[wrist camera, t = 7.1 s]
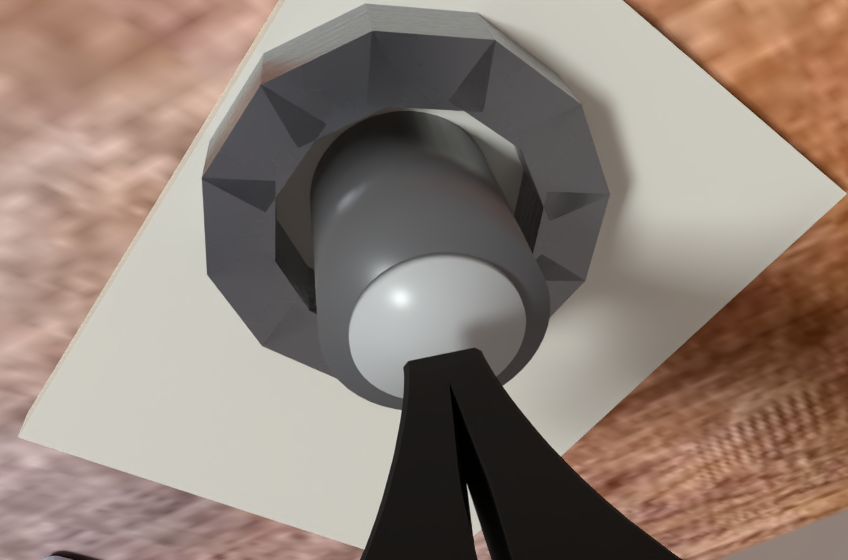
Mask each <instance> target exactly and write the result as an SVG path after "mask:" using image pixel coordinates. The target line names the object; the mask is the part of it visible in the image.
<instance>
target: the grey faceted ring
mask: <svg viewBox="0 0 848 560" xmlns="http://www.w3.org/2000/svg"><path fill="white" fill-rule="evenodd" d="M385 107H402V108H419V109H437V110H454V111H465V112H466V113H468V114H469V115H471V116H472V117H473V118H475V119H476V120H478V121H479V122H481V123H482V124H484V125H485V126H487V127H488V128H490V129H491V130H493V131H494V132H496V133H497V134H499V135H500V136H502V137H503V138H505V139H506V140H507V141H509V142H510V143H512V144H513V145H514V147H515V149H516V152H517V155H518V157H519V160H520V162H521V165H522V167H523V170H524V171H523V176H522V180H521V185H520V190H519V195H518V199H517V204H516V209H515V214H514V217H515V219H516V221H517V223H518V225H519V227H520V229H521V231H522V233H523V235H524V237H525V239H526V241H527V243H528V245H529V247H530V249H531V251H532V253H533V255H534V257H535V259H536V261H537V263H538V265H539V268H540V270H541V272H542V274H543V276H544V278H545V280H546V283H547V286H548V289H549V295H550V317H551V316H552V315H553V314H554V313H555V312H556V311H557V310H558V309H559V308H560V307H561V306H562V305H563V304H564V302H565V301H566V300H567V299H568V298H569V297H570V296H571V295H572V294H573V293H574V292H575V291H576V290H577V289H578V288H579V287H580V286H581V285H582V284H583V283H584V282H585V281H586V277H587V273H588V270H589V266H590V263H591V259H592V256H593V252H594V249H595V245H596V242H597V238H598V235H599V232H600V228H601V225H602V221H603V218H604V214H605V211H606V207H607V204H608V200H609V197H610V192H609V189H608V186H607V183H606V180H605V177H604V174H603V170H602V167H601V164H600V161H599V158H598V155H597V152H596V148H595V145H594V142H593V139H592V136H591V133H590V130H589V126H588V123H587V120H586V117H585V114H584V111H583V108H582V104H581V103H580V102H579V100H578V99H577V98H576V97H575V95H574V94H573V93H572V92H571V90H570V89H569V88H568V87H567V85H566V84H565V83H564V82H563V80H562V79H561V78H560V77H559V75H558V74H557V73H556V72H554V71H553V70H552V69H550V68H549V67H548V66H546V65H545V64H544V63H542V62H541V61H540V60H538V59H537V58H536V57H534V56H533V55H532V54H531V53H529V52H528V51H527V50H525V49H524V48H523V47H521V46H520V45H519V44H517V43H516V42H515V41H513V40H512V39H511V38H509V37H508V36H507V35H505V34H504V33H503V32H501V31H500V30H499V29H498V28H496V27H495V26H494V25H492V24H491V23H490V22H488V21H487V20H486V19H484V18H483V17H482V16H480V15H479V14H478V13H476V12H464V11H451V10H439V9H427V8H415V7H403V6H391V5H378V4H366V3H365V4H363V5H361V6H359V7H357V8H355V9H353V10H351V11H349V12H347V13H345V14H343V15H341V16H338V17H336V18H334V19H332V20H330V21H328V22H326V23H324V24H322V25H320V26H318V27H316V28H314V29H312V30H310V31H308V32H306V33H304V34H302V35H300V36H298V37H296V38H294V39H292V40H290V41H288V42H285V43H283V44H281V45H279V46H277V47H275V48H273V49H271V50H269V51H267V52H265V53H263V55H262V57H261V59H260V60H259V62H258V63H257V65H256V67H255V68H254V70H253V72H252V73H251V75H250V76H249V78H248V80H247V81H246V83H245V84H244V86H243V88H242V89H241V91H240V92H239V94H238V96H237V97H236V99H235V101H234V102H233V104H232V105H231V107H230V109H229V110H228V112H227V113H226V115H225V117H224V118H223V120H222V122H221V123H220V125H219V126H218V128H217V130H216V131H215V133H214V134H213V136H212V138H211V139H210V141H209V146H208V151H207V155H206V160H205V165H204V169H203V174H202V193H203V212H204V230H205V248H206V266H207V275H208V277H209V278H210V279H211V281H212V282H213V283H214V284H215V286H216V287H217V288H218V290H219V291H220V292H221V293H222V295H223V296H224V297H225V299H226V300H227V301H228V303H229V304H230V305H231V306H232V308H233V309H234V310H235V312H236V313H237V314H238V316H239V317H240V318H241V319H242V321H243V322H244V323H245V325H246V326H247V327H248V329H249V330H250V331H251V332H252V334H253V335H254V336H255V338H256V339H257V340H258V341H259V343H260V344H261V345H262V347H265V348H267V349H270V350H272V351H274V352H277V353H279V354H281V355H283V356H286V357H288V358H290V359H293V360H295V361H297V362H300V363H302V364H304V365H307V366H309V367H311V368H313V369H316V370H318V371H320V372H323V373H325V374H327V375H330V376H332V377H334V378H336V377H335V375H334V374H333V373H332V372H331V370H330V369H329V367H328V365H327V364H326V362H325V359H324V357H323V354H322V352H321V348H320V343H319V339H318V322H317V305H316V289H315V272H314V269H312V268H310V267H308V266H307V264H306V263H305V261H304V260H303V258H302V257H301V255H300V254H299V252H298V251H297V249H296V248H295V246H294V245H293V243H292V241H291V240H290V238H289V237H288V235H287V234H286V232H285V231H284V229H283V228H282V226H281V225H280V223H279V222H278V220H277V195H278V194H279V192H280V191H281V190H282V188H283V187H284V185H285V184H286V182H287V181H288V179H289V178H290V176H291V175H292V174H293V172H294V171H295V169H296V168H297V166H298V165H299V163H300V162H301V161H302V159H303V158H304V156H305V155H306V153H307V152H308V150H309V149H310V148H311V146H312V145H313V143H314V142H315V140H317V139H319V138H321V137H323V136H325V135H327V134H329V133H332V132H334V131H336V130H338V129H340V128H342V127H344V126H346V125H349V124H351V123H353V122H355V121H357V120H359V119H361V118H363V117H366V116H368V115H370V114H372V113H374V112H376V111H378V110H380V109H383V108H385ZM336 379H337V378H336Z"/></svg>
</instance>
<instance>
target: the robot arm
mask: <svg viewBox="0 0 848 560" xmlns="http://www.w3.org/2000/svg"><path fill="white" fill-rule="evenodd" d="M403 370H404V393H403V404H402V411H401V419H400V425H399V430H398V435H397V440H396V446H395V451H394V455H393V460H392V464H391V467H390V471H389V475H388V479H387V482H386V486H385V490H384V494H383V497H382V500H381V504H380V507H379V510H378V513H377V516H376V519H375V522H374V525H373V528H372V530H371V533H370V536H369V539H368V541H367V544H366V547H365V549H364V552H363V554H362V557H361V559H360V560H477V555H476V551H475V546H474V538H473V530H472V522H471V514H470V506H469V498H468V490H467V486H468V489H469V492H470V495H471V498H472V501H473V504H474V507H475V510H476V513H477V516H478V519H479V522H480V525H481V528H482V531H483V534H484V537H485V540H486V543H487V547H488V550H489V553H490V556H491V559H492V560H682V559H681V558H679V557H678V556H676V555H675V554H673V553H672V552H671V551H669V550H668V549H667V548H665V547H664V546H663V545H661V544H660V543H659V542H657V541H656V540H655V539H654V538H652V537H651V536H650V535H648V534H647V533H646V532H644V531H643V530H642V529H640V528H639V527H638V526H636V525H635V524H634V523H633V522H631V521H630V520H629V519H627V518H626V517H625V516H624V515H623V514H622V513H620V512H619V511H618V510H617V509H616V508H615V507H613V506H612V505H611V504H610V503H609V502H608V501H606V500H605V499H604V498H603V497H602V496H601V495H600V494H599V493H597V492H596V491H595V490H594V489H593V488H592V487H591V486H590V485H589V484H588V483H587V482H586V481H584V480H583V479H582V478H581V477H580V476H579V475H578V474H577V473H576V472H575V471H574V470H573V469H572V468H571V467H570V466H569V465H568V464H567V463H566V462H565V461H564V459H563V458H562V457H561V456H560V455H559V454H558V453H557V452H556V451H555V450H554V449H553V448H552V447H551V446H550V445H549V443H548V442H547V441H546V440H545V439H544V438H543V437H542V435H541V434H540V433H539V432H538V431H537V430H536V428H535V427H534V426H533V425H532V424H531V422H530V421H529V420H528V419H527V417H526V416H525V415H524V414H523V413H522V411H521V410H520V409H519V408H518V406H517V405H516V404H515V402H514V401H513V400H512V398H511V397H510V396H509V394H508V393H507V391H506V390H505V389H504V387H503V386H502V384H501V383H500V382H499V380H498V379H497V377H496V376H495V374H494V372H493V371H492V369H491V368H490V366H489V364H488V362H487V361H486V359H485V357H484V355H483V353H482V351H481V350H479V349H477V348H470V349H465V350H460V351H455V352H450V353H445V354H440V355H435V356H430V357H425V358H420V359H415V360H411V361H408V362H407V363H406V364H405V366H404V367H403ZM43 560H72V559H68V558H65V557H61V556H49V557H46V558H44V559H43Z"/></svg>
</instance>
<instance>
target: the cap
mask: <svg viewBox="0 0 848 560" xmlns="http://www.w3.org/2000/svg"><path fill="white" fill-rule="evenodd" d="M310 205H311V222H312V239H313V255H314V272H315V289H316V305H317V322H318V339H319V343H320V348H321V352H322V354H323V357H324V359H325V362H326V364H327V365H328V367H329V369H330V370H331V372H332V373H333V374H334V375H335V377H336V378H337V379H338V380H339V381H340V382H341V383H342V384H343V385H344V386H345V387H346V388H348V389H349V390H350V391H352V392H353V393H355V394H356V395H358V396H359V397H361V398H363V399H365V400H367V401H369V402H372V403H375V404H378V405H380V406H384V407H388V408H392V409H397V410H402V404H403V393H404V370H403V367H404V366H405V364H406V363H407V362H408V361H411V360H415V359H420V358H425V357H430V356H435V355H440V354H445V353H450V352H455V351H460V350H465V349H470V348H477V349H479V350H481V351H482V353H483V355H484V357H485V359H486V361H487V362H488V364H489V366H490V368H491V369H492V371H493V372H494V374H495V376H496V377H497V379H498V380H499V382H500V383H501V384H502V386H503V385H505V384H506V383H507V382H509V381H510V380H511V379H513V378H514V377H515V376H516V375H517V374H518V373H519V372H520V371H521V370H522V369H523V368H524V367H525V366H526V365H527V364H528V362H529V361H530V360H531V359H532V357H533V356H534V354H535V353H536V352H537V350H538V348H539V346H540V345H541V343H542V341H543V339H544V336H545V333H546V330H547V327H548V323H549V318H550V295H549V289H548V286H547V283H546V280H545V278H544V276H543V274H542V272H541V270H540V268H539V265H538V263H537V261H536V259H535V257H534V255H533V253H532V251H531V249H530V247H529V245H528V243H527V241H526V239H525V237H524V235H523V233H522V231H521V229H520V227H519V225H518V223H517V221H516V219H515V217H514V215H513V213H512V211H511V209H510V207H509V205H508V203H507V201H506V199H505V197H504V195H503V193H502V191H501V189H500V187H499V185H498V183H497V181H496V179H495V177H494V175H493V172H492V170H491V168H490V166H489V164H488V162H487V160H486V158H485V156H484V154H483V152H482V151H481V149H480V147H479V146H478V145H477V143H476V142H475V141H474V139H473V138H472V137H471V136H470V135H469V134H468V133H467V132H465V131H464V130H463V129H462V128H460V127H459V126H458V125H456V124H454V123H452V122H451V121H449V120H447V119H444V118H442V117H439V116H437V115H433V114H429V113H425V112H418V111H395V112H388V113H383V114H380V115H376V116H373V117H370V118H368V119H365V120H363V121H361V122H359V123H357V124H355V125H354V126H352V127H350V128H349V129H348V130H346V131H345V132H343V133H342V134H341V135H340V136H339V137H338V138H337V139H336V140H334V141H333V142H332V144H331V145H330V146H329V147H328V149H327V150H326V151H325V152H324V154H323V156H322V157H321V159H320V161H319V162H318V165H317V167H316V169H315V172H314V175H313V179H312V183H311V190H310Z"/></svg>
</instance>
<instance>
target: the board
mask: <svg viewBox="0 0 848 560" xmlns="http://www.w3.org/2000/svg"><path fill="white" fill-rule="evenodd" d="M365 3H366V4H378V5H391V6H403V7H415V8H427V9H439V10H451V11H464V12H476V13H478V14H479V15H480V16H482V17H483V18H484V19H486V20H487V21H488V22H490V23H491V24H492V25H494V26H495V27H496V28H498V29H499V30H500V31H501V32H503V33H504V34H505V35H507V36H508V37H509V38H511V39H512V40H513V41H515V42H516V43H517V44H519V45H520V46H521V47H523V48H524V49H525V50H527V51H528V52H529V53H531V54H532V55H533V56H534V57H536V58H537V59H538V60H540V61H541V62H542V63H544V64H545V65H546V66H548V67H549V68H550V69H552V70H553V71H554V72H556V73H557V74H558V75H559V77H560V78H561V79H562V80H563V82H564V83H565V84H566V85H567V87H568V88H569V89H570V90H571V92H572V93H573V94H574V95H575V97H576V98H577V99H578V100H579V102H580V103H581V104H582V108H583V111H584V114H585V117H586V120H587V123H588V126H589V130H590V133H591V136H592V139H593V142H594V145H595V148H596V152H597V155H598V158H599V161H600V164H601V167H602V170H603V174H604V177H605V180H606V183H607V186H608V189H609V192H610V197H609V200H608V204H607V207H606V211H605V214H604V218H603V221H602V225H601V228H600V232H599V235H598V238H597V242H596V245H595V249H594V252H593V256H592V259H591V263H590V266H589V270H588V273H587V277H586V281H585V282H584V283H583V284H582V285H581V286H580V287H579V288H578V289H577V290H576V291H575V292H574V293H573V294H572V295H571V296H570V297H569V298H568V299H567V300H566V301H565V302H564V304H563V305H562V306H561V307H560V308H559V309H558V310H557V311H556V312H555V313H554V314H553V315H552V316H551V317H550V318H549V323H548V327H547V330H546V333H545V336H544V339H543V341H542V343H541V345H540V346H539V348H538V350H537V352H536V353H535V354H534V356H533V357H532V359H531V360H530V361H529V362H528V364H527V365H526V366H525V367H524V368H523V369H522V370H521V371H520V372H519V373H518V374H517V375H516V376H515V377H514V378H513V379H511V380H510V381H509V382H507V383H506V384H505V385H503V387H504V389H505V390H506V391H507V393H508V394H509V396H510V397H511V398H512V400H513V401H514V402H515V404H516V405H517V406H518V408H519V409H520V410H521V411H522V413H523V414H524V415H525V416H526V417H527V419H528V420H529V421H530V422H531V424H532V425H533V426H534V427H535V428H536V430H537V431H538V432H539V433H540V434H541V435H542V437H543V438H544V439H545V440H546V441H547V442H548V443H549V445H550V446H551V447H552V448H553V449H554V450H555V451H556V452H557V453H558V454H559V455H560V456H562V455H563V454H564V453H565V452H566V451H567V450H568V449H569V448H570V447H572V446H573V445H574V444H575V443H576V442H577V441H578V440H579V439H580V438H581V437H582V436H584V435H585V434H586V433H587V432H588V431H589V430H590V429H591V428H592V427H593V426H594V425H596V424H597V423H598V422H599V421H600V420H601V419H602V418H603V417H604V416H605V415H606V414H607V413H609V412H610V411H611V410H612V409H613V408H614V407H615V406H616V405H617V404H618V403H619V402H621V401H622V400H623V399H624V398H625V397H626V396H627V395H628V394H629V393H630V392H631V391H633V390H634V389H635V388H636V387H637V386H638V385H639V384H640V383H641V382H642V381H643V380H645V379H646V378H647V377H648V376H649V375H650V374H651V373H652V372H653V371H654V370H655V369H657V368H658V367H659V366H660V365H661V364H662V363H663V362H664V361H665V360H666V359H667V358H668V357H670V356H671V355H672V354H673V353H674V352H675V351H676V350H677V349H678V348H679V347H680V346H682V345H683V344H684V343H685V342H686V341H687V340H688V339H689V338H690V337H691V336H692V335H694V334H695V333H696V332H697V331H698V330H699V329H700V328H701V327H702V326H703V325H704V324H706V323H707V322H708V321H709V320H710V319H711V318H712V317H713V316H714V315H715V314H716V313H718V312H719V311H720V310H721V309H722V308H723V307H724V306H725V305H726V304H727V303H728V302H729V301H731V300H732V299H733V298H734V297H735V296H736V295H737V294H738V293H739V292H740V291H741V290H743V289H744V288H745V287H746V286H747V285H748V284H749V283H750V282H751V281H752V280H753V279H755V278H756V277H757V276H758V275H759V274H760V273H761V272H762V271H763V270H764V269H765V268H767V267H768V266H769V265H770V264H771V263H772V262H773V261H774V260H775V259H776V258H777V257H779V256H780V255H781V254H782V253H783V252H784V251H785V250H786V249H787V248H788V247H789V246H790V245H792V244H793V243H794V242H795V241H796V240H797V239H798V238H799V237H800V236H801V235H802V234H804V233H805V232H806V231H807V230H808V229H809V228H810V227H811V226H812V225H813V224H814V223H816V222H817V221H818V220H819V219H820V218H821V217H822V216H823V215H824V214H825V213H826V212H828V211H829V210H830V209H831V208H832V207H833V206H834V205H835V204H836V203H837V202H838V201H840V200H841V199H842V198H843V197H844V196H845V195H846V194H847V193H845V192H844V191H843V190H842V189H841V188H840V187H839V186H837V185H836V184H835V183H834V182H833V181H832V180H830V179H829V178H828V177H827V176H826V175H825V174H823V173H822V172H821V171H820V170H819V169H818V168H816V167H815V166H814V165H813V164H812V163H811V162H810V161H808V160H807V159H806V158H805V157H804V156H803V155H801V154H800V153H799V152H798V151H797V150H796V149H794V148H793V147H792V146H791V145H790V144H789V143H787V142H786V141H785V140H784V139H783V138H782V137H781V136H779V135H778V134H777V133H776V132H775V131H774V130H772V129H771V128H770V127H769V126H768V125H767V124H765V123H764V122H763V121H762V120H761V119H760V118H759V117H757V116H756V115H755V114H754V113H753V112H752V111H750V110H749V109H748V108H747V107H746V106H745V105H743V104H742V103H741V102H740V101H739V100H738V99H736V98H735V97H734V96H733V95H732V94H731V93H730V92H728V91H727V90H726V89H725V88H724V87H723V86H721V85H720V84H719V83H718V82H717V81H716V80H714V79H713V78H712V77H711V76H710V75H709V74H707V73H706V72H705V71H704V70H703V69H702V68H701V67H699V66H698V65H697V64H696V63H695V62H694V61H692V60H691V59H690V58H689V57H688V56H687V55H685V54H684V53H683V52H682V51H681V50H680V49H679V48H677V47H676V46H675V45H674V44H673V43H672V42H670V41H669V40H668V39H667V38H666V37H665V36H663V35H662V34H661V33H660V32H659V31H658V30H656V29H655V28H654V27H653V26H652V25H651V24H650V23H648V22H647V21H646V20H645V19H644V18H643V17H641V16H640V15H639V14H638V13H637V12H636V11H634V10H633V9H632V8H631V7H630V6H629V5H627V4H626V3H625V2H624V1H623V0H279V1H278V2H277V4H276V6H275V7H274V9H273V11H272V12H271V14H270V15H269V17H268V19H267V20H266V22H265V24H264V25H263V27H262V29H261V30H260V32H259V34H258V35H257V37H256V38H255V40H254V42H253V43H252V45H251V47H250V48H249V50H248V52H247V53H246V55H245V57H244V58H243V60H242V61H241V63H240V65H239V66H238V68H237V70H236V71H235V73H234V75H233V76H232V78H231V80H230V81H229V83H228V84H227V86H226V88H225V89H224V91H223V93H222V94H221V96H220V98H219V99H218V101H217V103H216V104H215V106H214V107H213V109H212V111H211V112H210V114H209V116H208V117H207V119H206V121H205V122H204V124H203V126H202V127H201V129H200V131H199V132H198V134H197V135H196V137H195V139H194V140H193V142H192V144H191V145H190V147H189V149H188V150H187V152H186V154H185V155H184V157H183V158H182V160H181V162H180V163H179V165H178V167H177V168H176V170H175V172H174V173H173V175H172V177H171V178H170V180H169V181H168V183H167V185H166V186H165V188H164V190H163V191H162V193H161V195H160V196H159V198H158V200H157V201H156V203H155V204H154V206H153V208H152V209H151V211H150V213H149V214H148V216H147V218H146V219H145V221H144V223H143V224H142V226H141V227H140V229H139V231H138V232H137V234H136V236H135V237H134V239H133V241H132V242H131V244H130V246H129V247H128V249H127V250H126V252H125V254H124V255H123V257H122V259H121V260H120V262H119V264H118V265H117V267H116V269H115V270H114V272H113V274H112V275H111V277H110V278H109V280H108V282H107V283H106V285H105V287H104V288H103V290H102V292H101V293H100V295H99V297H98V298H97V300H96V301H95V303H94V305H93V306H92V308H91V310H90V311H89V313H88V315H87V316H86V318H85V320H84V321H83V323H82V324H81V326H80V328H79V329H78V331H77V333H76V334H75V336H74V338H73V339H72V341H71V343H70V344H69V346H68V347H67V349H66V351H65V352H64V354H63V356H62V357H61V359H60V361H59V362H58V364H57V366H56V367H55V369H54V370H53V372H52V374H51V375H50V377H49V379H48V380H47V382H46V384H45V385H44V387H43V389H42V390H41V392H40V394H39V395H38V397H37V398H36V400H35V402H34V403H33V405H32V407H31V408H30V410H29V412H28V413H27V416H26V418H25V421H24V423H23V426H22V428H21V431H20V433H19V436H18V438H22V439H25V440H28V441H31V442H34V443H37V444H40V445H43V446H46V447H49V448H52V449H56V450H59V451H62V452H65V453H68V454H71V455H74V456H77V457H80V458H83V459H86V460H90V461H93V462H96V463H99V464H102V465H105V466H108V467H111V468H114V469H117V470H120V471H124V472H127V473H130V474H133V475H136V476H139V477H142V478H145V479H148V480H151V481H154V482H157V483H161V484H164V485H167V486H170V487H173V488H176V489H179V490H182V491H185V492H188V493H191V494H195V495H198V496H201V497H204V498H207V499H210V500H213V501H216V502H219V503H222V504H225V505H229V506H232V507H235V508H238V509H241V510H244V511H247V512H250V513H253V514H256V515H259V516H263V517H266V518H269V519H272V520H275V521H278V522H281V523H284V524H287V525H290V526H293V527H296V528H300V529H303V530H306V531H309V532H312V533H315V534H318V535H321V536H324V537H327V538H330V539H334V540H337V541H340V542H343V543H346V544H349V545H352V546H355V547H358V548H361V549H365V547H366V544H367V541H368V539H369V536H370V533H371V530H372V528H373V525H374V522H375V519H376V516H377V513H378V510H379V507H380V504H381V500H382V497H383V494H384V490H385V486H386V482H387V479H388V475H389V471H390V467H391V464H392V460H393V455H394V451H395V446H396V440H397V435H398V430H399V425H400V419H401V411H402V410H397V409H392V408H388V407H384V406H380V405H378V404H375V403H372V402H369V401H367V400H365V399H363V398H361V397H359V396H358V395H356V394H355V393H353V392H352V391H350V390H349V389H348V388H346V387H345V386H344V385H343V384H342V383H341V382H340V381H339V380H338V379H336V378H334V377H332V376H330V375H327V374H325V373H323V372H320V371H318V370H316V369H313V368H311V367H309V366H307V365H304V364H302V363H300V362H297V361H295V360H293V359H290V358H288V357H286V356H283V355H281V354H279V353H277V352H274V351H272V350H270V349H267V348H265V347H262V345H261V344H260V343H259V341H258V340H257V339H256V338H255V336H254V335H253V334H252V332H251V331H250V330H249V329H248V327H247V326H246V325H245V323H244V322H243V321H242V319H241V318H240V317H239V316H238V314H237V313H236V312H235V310H234V309H233V308H232V306H231V305H230V304H229V303H228V301H227V300H226V299H225V297H224V296H223V295H222V293H221V292H220V291H219V290H218V288H217V287H216V286H215V284H214V283H213V282H212V281H211V279H210V278H209V277H208V275H207V266H206V248H205V230H204V212H203V193H202V174H203V169H204V165H205V160H206V155H207V151H208V146H209V141H210V139H211V138H212V136H213V134H214V133H215V131H216V130H217V128H218V126H219V125H220V123H221V122H222V120H223V118H224V117H225V115H226V113H227V112H228V110H229V109H230V107H231V105H232V104H233V102H234V101H235V99H236V97H237V96H238V94H239V92H240V91H241V89H242V88H243V86H244V84H245V83H246V81H247V80H248V78H249V76H250V75H251V73H252V72H253V70H254V68H255V67H256V65H257V63H258V62H259V60H260V59H261V57H262V55H263V53H265V52H267V51H269V50H271V49H273V48H275V47H277V46H279V45H281V44H283V43H285V42H288V41H290V40H292V39H294V38H296V37H298V36H300V35H302V34H304V33H306V32H308V31H310V30H312V29H314V28H316V27H318V26H320V25H322V24H324V23H326V22H328V21H330V20H332V19H334V18H336V17H338V16H341V15H343V14H345V13H347V12H349V11H351V10H353V9H355V8H357V7H359V6H361V5H363V4H365ZM395 111H418V112H425V113H429V114H433V115H437V116H439V117H442V118H444V119H447V120H449V121H451V122H452V123H454V124H456V125H458V126H459V127H460V128H462V129H463V130H464V131H465V132H467V133H468V134H469V135H470V136H471V137H472V138H473V139H474V141H475V142H476V143H477V145H478V146H479V147H480V149H481V151H482V152H483V154H484V156H485V158H486V160H487V162H488V164H489V166H490V168H491V170H492V172H493V175H494V177H495V179H496V181H497V183H498V185H499V187H500V189H501V191H502V193H503V195H504V197H505V199H506V201H507V203H508V205H509V207H510V209H511V211H512V213H513V215H514V214H515V209H516V204H517V199H518V195H519V190H520V185H521V180H522V176H523V171H524V170H523V167H522V165H521V162H520V160H519V157H518V155H517V152H516V149H515V147H514V145H513V144H512V143H510V142H509V141H507V140H506V139H505V138H503V137H502V136H500V135H499V134H497V133H496V132H494V131H493V130H491V129H490V128H488V127H487V126H485V125H484V124H482V123H481V122H479V121H478V120H476V119H475V118H473V117H472V116H471V115H469V114H468V113H466V112H465V111H454V110H437V109H419V108H402V107H385V108H383V109H380V110H378V111H376V112H374V113H372V114H370V115H368V116H366V117H363V118H361V119H359V120H357V121H355V122H353V123H351V124H349V125H346V126H344V127H342V128H340V129H338V130H336V131H334V132H332V133H329V134H327V135H325V136H323V137H321V138H319V139H317V140H315V142H314V143H313V145H312V146H311V148H310V149H309V150H308V152H307V153H306V155H305V156H304V158H303V159H302V161H301V162H300V163H299V165H298V166H297V168H296V169H295V171H294V172H293V174H292V175H291V176H290V178H289V179H288V181H287V182H286V184H285V185H284V187H283V188H282V190H281V191H280V192H279V194H278V195H277V220H278V222H279V223H280V225H281V226H282V228H283V229H284V231H285V232H286V234H287V235H288V237H289V238H290V240H291V241H292V243H293V245H294V246H295V248H296V249H297V251H298V252H299V254H300V255H301V257H302V258H303V260H304V261H305V263H306V264H307V266H308V267H310V268H312V269H314V255H313V239H312V222H311V205H310V190H311V183H312V179H313V175H314V172H315V169H316V167H317V165H318V162H319V161H320V159H321V157H322V156H323V154H324V152H325V151H326V150H327V149H328V147H329V146H330V145H331V144H332V142H333V141H334V140H336V139H337V138H338V137H339V136H340V135H341V134H342V133H343V132H345V131H346V130H348V129H349V128H350V127H352V126H354V125H355V124H357V123H359V122H361V121H363V120H365V119H368V118H370V117H373V116H376V115H380V114H383V113H388V112H395ZM467 490H468V498H469V506H470V514H471V522H472V530H473V537H474V536H475V535H476V534H477V533H478V532H479V531H480V530H481V529H482V528H481V525H480V522H479V519H478V516H477V513H476V510H475V507H474V504H473V501H472V498H471V495H470V492H469V489H468V486H467Z"/></svg>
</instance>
